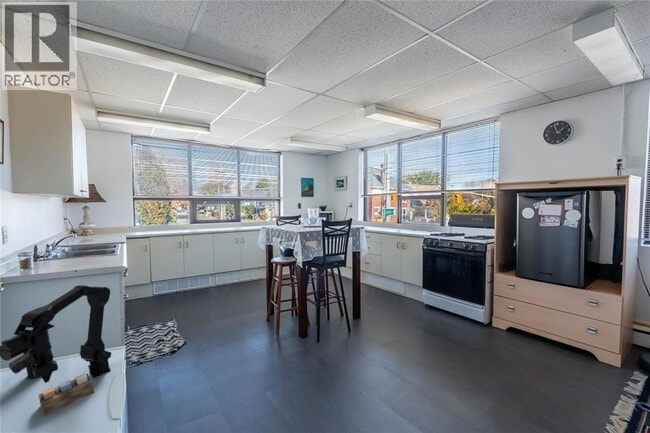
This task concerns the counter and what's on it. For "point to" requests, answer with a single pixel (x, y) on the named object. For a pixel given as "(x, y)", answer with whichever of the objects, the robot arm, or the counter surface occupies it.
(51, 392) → the key terracotta
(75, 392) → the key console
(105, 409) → the counter surface
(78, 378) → the key cream
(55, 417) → the counter surface
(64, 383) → the key blue
